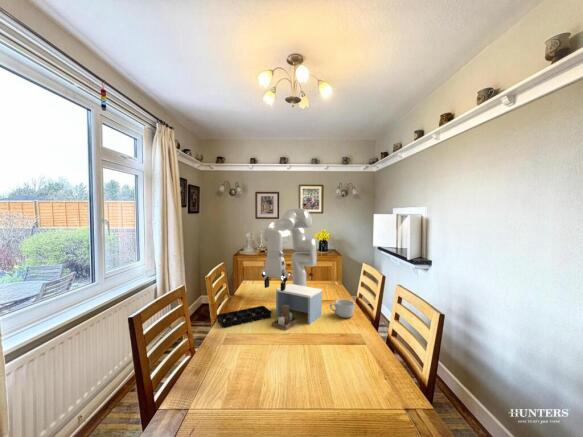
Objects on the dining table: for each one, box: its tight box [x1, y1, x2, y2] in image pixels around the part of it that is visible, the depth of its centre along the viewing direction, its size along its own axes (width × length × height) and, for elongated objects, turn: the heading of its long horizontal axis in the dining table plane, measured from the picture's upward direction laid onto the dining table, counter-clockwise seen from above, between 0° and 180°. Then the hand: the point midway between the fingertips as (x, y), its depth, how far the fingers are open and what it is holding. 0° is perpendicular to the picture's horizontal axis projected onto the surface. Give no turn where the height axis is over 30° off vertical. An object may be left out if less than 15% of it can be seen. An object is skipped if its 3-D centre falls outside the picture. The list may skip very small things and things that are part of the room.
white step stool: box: [275, 283, 323, 325], centre depth 152 cm, size 14×22×15 cm, turn 58°
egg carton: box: [216, 305, 273, 329], centre depth 147 cm, size 18×30×4 cm, turn 133°
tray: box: [271, 305, 299, 331], centre depth 140 cm, size 12×9×10 cm
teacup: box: [329, 298, 355, 319], centre depth 152 cm, size 14×11×8 cm
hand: (274, 288), depth 131 cm, fingers open, 9 cm apart
